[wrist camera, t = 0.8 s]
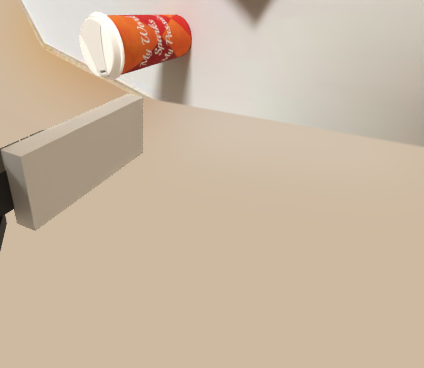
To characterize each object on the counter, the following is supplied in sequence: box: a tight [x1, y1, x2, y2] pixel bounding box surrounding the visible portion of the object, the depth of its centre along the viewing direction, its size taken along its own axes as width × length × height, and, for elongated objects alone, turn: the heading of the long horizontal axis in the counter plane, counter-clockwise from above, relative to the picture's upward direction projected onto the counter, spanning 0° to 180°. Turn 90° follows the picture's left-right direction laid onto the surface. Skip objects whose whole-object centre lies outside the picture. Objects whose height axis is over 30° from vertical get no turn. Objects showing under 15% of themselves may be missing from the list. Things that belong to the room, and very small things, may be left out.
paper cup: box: [79, 12, 192, 79], centre depth 46 cm, size 8×8×14 cm
